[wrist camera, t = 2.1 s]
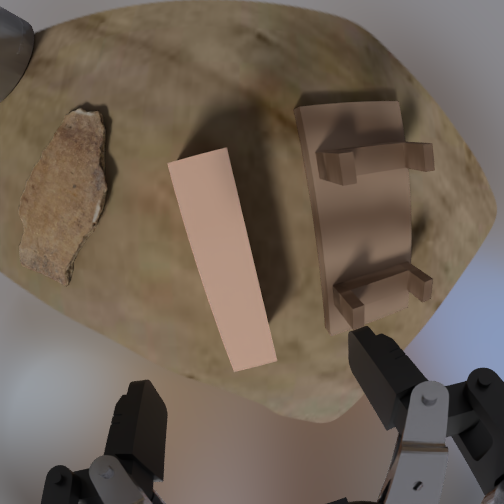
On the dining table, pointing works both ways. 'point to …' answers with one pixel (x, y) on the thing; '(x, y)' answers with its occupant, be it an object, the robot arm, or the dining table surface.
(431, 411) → the robot arm
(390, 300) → the brown cradle stand
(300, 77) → the dining table surface
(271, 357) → the clay bar
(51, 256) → the pottery shard
